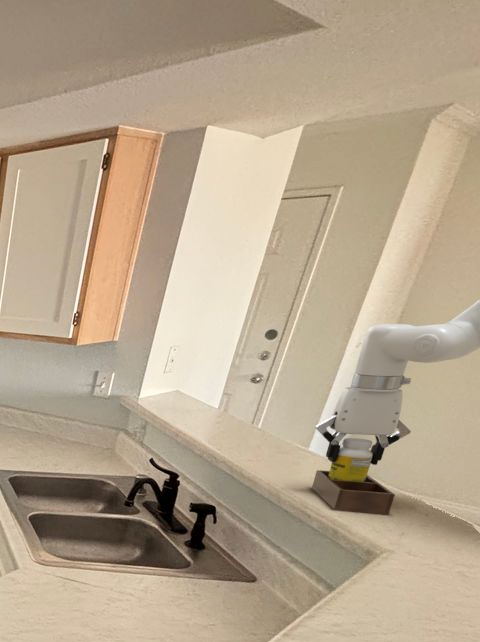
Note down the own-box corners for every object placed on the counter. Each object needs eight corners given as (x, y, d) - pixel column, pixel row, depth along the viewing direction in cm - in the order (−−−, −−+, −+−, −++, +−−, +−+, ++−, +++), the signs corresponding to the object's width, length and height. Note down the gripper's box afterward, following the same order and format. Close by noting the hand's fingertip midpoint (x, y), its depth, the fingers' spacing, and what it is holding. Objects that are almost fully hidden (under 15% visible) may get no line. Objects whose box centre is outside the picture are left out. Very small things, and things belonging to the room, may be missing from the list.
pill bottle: (320, 481, 140) (333, 436, 136) (353, 483, 138) (367, 437, 134) (334, 489, 134) (348, 442, 131) (368, 491, 132) (383, 443, 129)
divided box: (359, 492, 138) (365, 473, 137) (388, 514, 124) (395, 494, 123) (311, 488, 142) (316, 470, 141) (334, 509, 129) (340, 489, 127)
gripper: (423, 381, 127) (396, 461, 133) (318, 379, 135) (297, 455, 141) (439, 386, 121) (411, 469, 127) (328, 384, 129) (306, 462, 135)
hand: (351, 461), depth 134 cm, fingers closed on pill bottle, 6 cm apart
